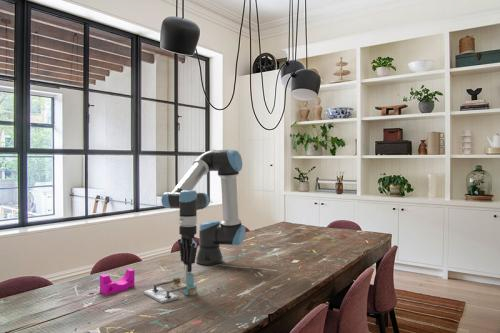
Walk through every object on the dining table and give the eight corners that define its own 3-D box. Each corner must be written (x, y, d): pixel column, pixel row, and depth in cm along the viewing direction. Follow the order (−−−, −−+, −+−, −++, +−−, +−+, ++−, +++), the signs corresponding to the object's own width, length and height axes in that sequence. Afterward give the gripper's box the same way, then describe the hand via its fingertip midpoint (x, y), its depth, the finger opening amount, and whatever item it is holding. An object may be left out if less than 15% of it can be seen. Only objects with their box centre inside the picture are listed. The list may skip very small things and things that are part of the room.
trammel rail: (176, 285, 179) (176, 276, 179) (195, 294, 167) (195, 284, 167) (150, 291, 170) (150, 281, 170) (169, 301, 158) (169, 290, 158)
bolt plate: (159, 289, 173) (159, 286, 173) (178, 299, 161) (178, 295, 161) (143, 293, 168) (143, 290, 168) (161, 303, 156) (161, 300, 156)
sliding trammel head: (192, 290, 170) (192, 272, 170) (196, 292, 168) (196, 273, 168) (165, 298, 161) (165, 278, 161) (168, 300, 159) (168, 280, 159)
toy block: (106, 295, 166) (106, 278, 166) (99, 292, 170) (99, 275, 170) (137, 287, 177) (137, 271, 177) (130, 284, 181) (130, 268, 181)
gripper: (172, 224, 171) (172, 277, 171) (189, 228, 161) (188, 283, 162) (187, 222, 176) (186, 273, 176) (203, 226, 166) (203, 280, 167)
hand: (187, 278), depth 169 cm, fingers closed
